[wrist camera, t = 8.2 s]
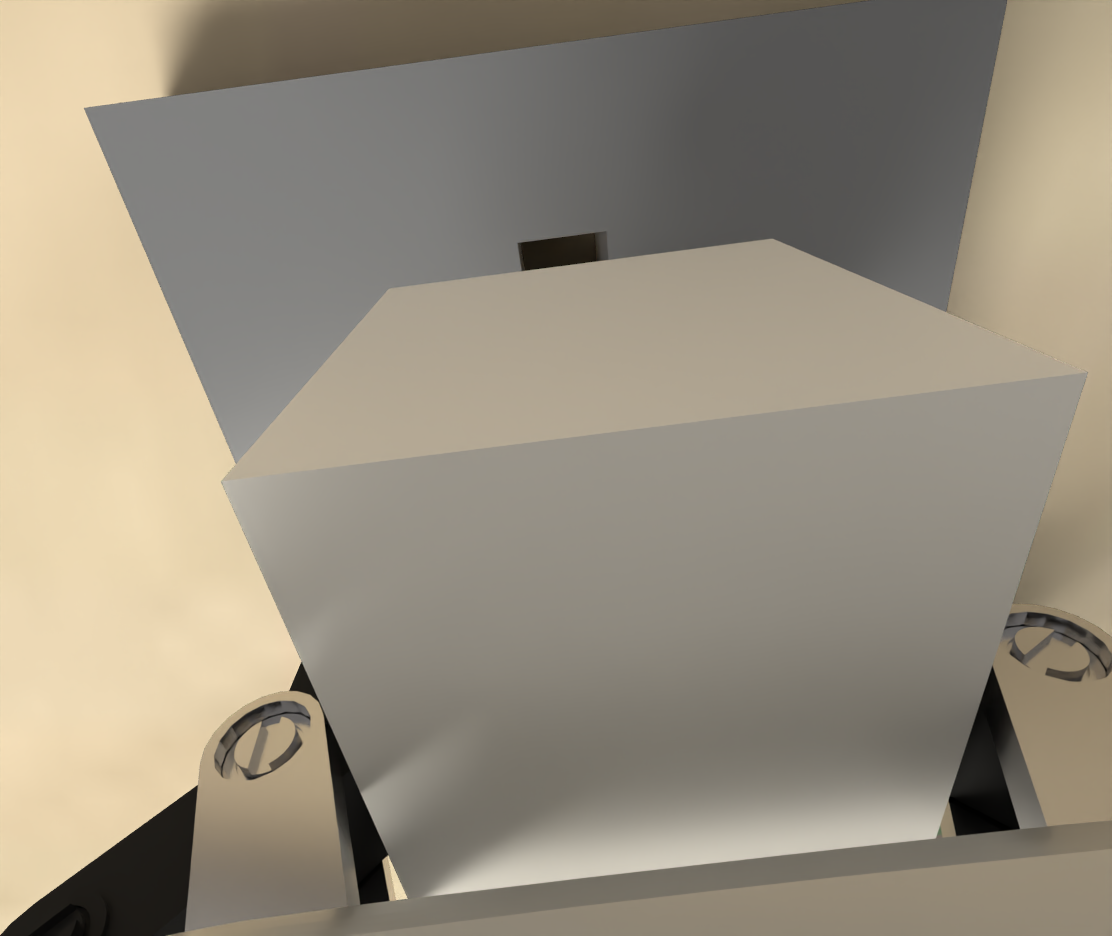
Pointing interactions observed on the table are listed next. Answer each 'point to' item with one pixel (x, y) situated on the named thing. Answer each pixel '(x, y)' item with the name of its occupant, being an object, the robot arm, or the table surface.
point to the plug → (652, 558)
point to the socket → (548, 172)
